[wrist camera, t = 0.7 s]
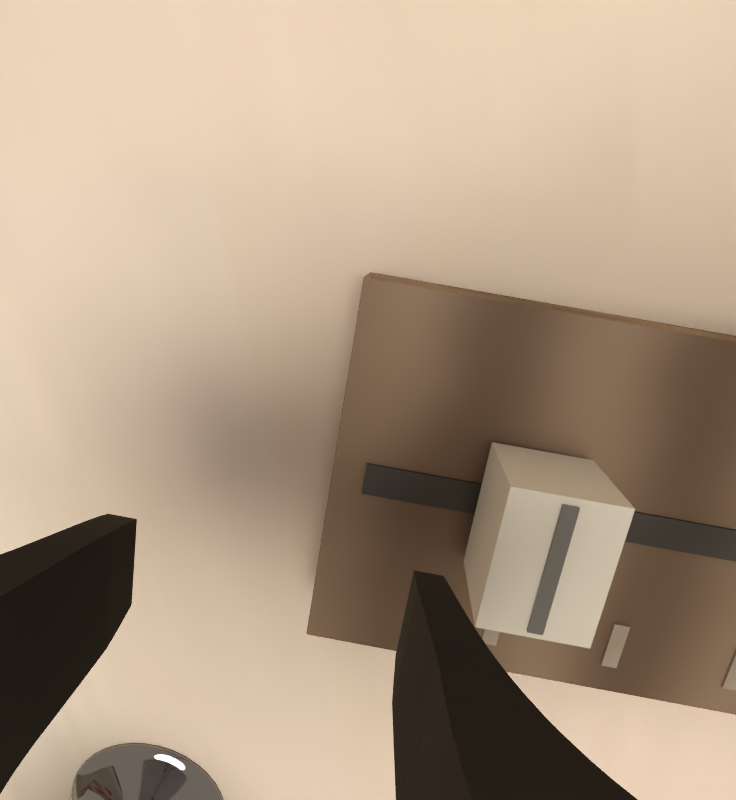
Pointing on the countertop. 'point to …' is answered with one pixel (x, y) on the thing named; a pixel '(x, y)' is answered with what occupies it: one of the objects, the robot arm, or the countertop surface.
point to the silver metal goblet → (142, 776)
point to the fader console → (550, 432)
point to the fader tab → (544, 545)
